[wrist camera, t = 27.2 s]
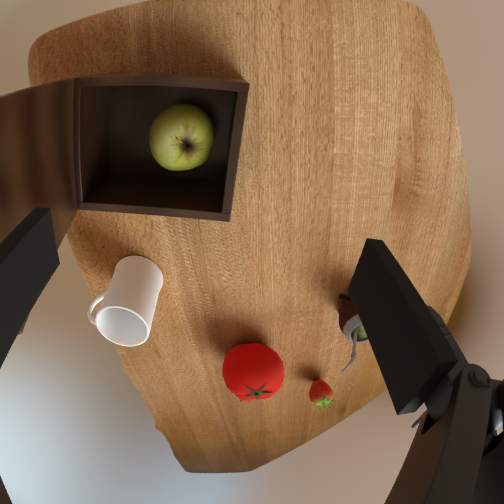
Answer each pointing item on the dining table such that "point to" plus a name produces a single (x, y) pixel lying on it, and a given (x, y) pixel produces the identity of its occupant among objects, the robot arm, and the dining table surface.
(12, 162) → the lid
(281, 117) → the dining table surface
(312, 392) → the fruit
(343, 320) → the mate gourd
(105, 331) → the mug
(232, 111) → the chest
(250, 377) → the tomato
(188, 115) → the apple
